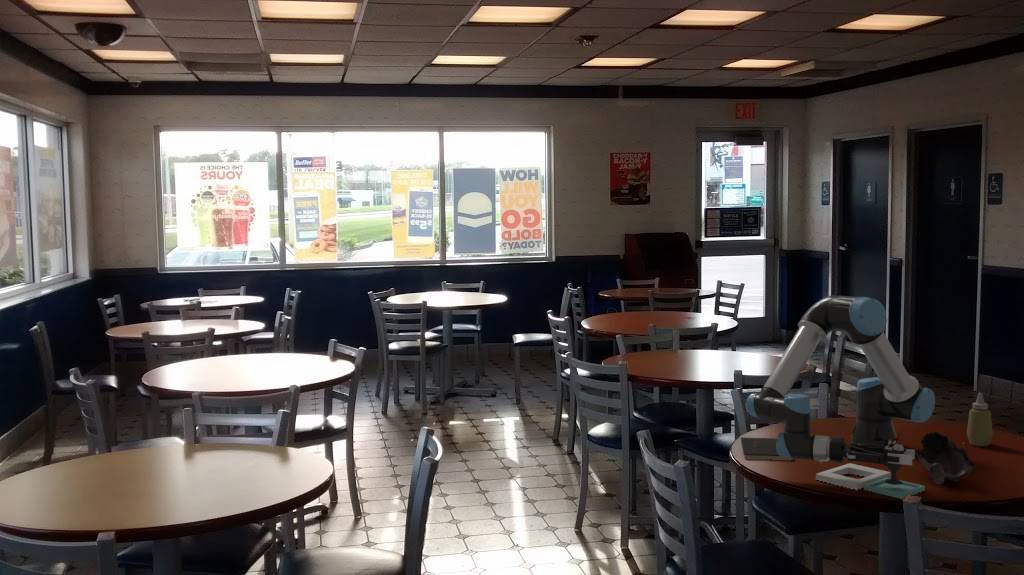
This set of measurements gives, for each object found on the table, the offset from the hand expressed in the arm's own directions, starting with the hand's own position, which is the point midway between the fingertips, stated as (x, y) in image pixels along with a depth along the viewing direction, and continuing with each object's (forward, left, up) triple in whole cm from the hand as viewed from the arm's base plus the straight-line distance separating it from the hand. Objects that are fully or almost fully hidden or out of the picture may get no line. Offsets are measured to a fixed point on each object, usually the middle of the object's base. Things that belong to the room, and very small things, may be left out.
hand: (913, 457), depth 272 cm
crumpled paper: (-19, -2, -11) cm, 22 cm away
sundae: (+2, -5, -8) cm, 10 cm away
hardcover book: (-7, -57, -11) cm, 59 cm away
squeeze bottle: (-67, -14, -10) cm, 69 cm away
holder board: (+1, -19, -10) cm, 21 cm away
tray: (+2, -5, -10) cm, 11 cm away
